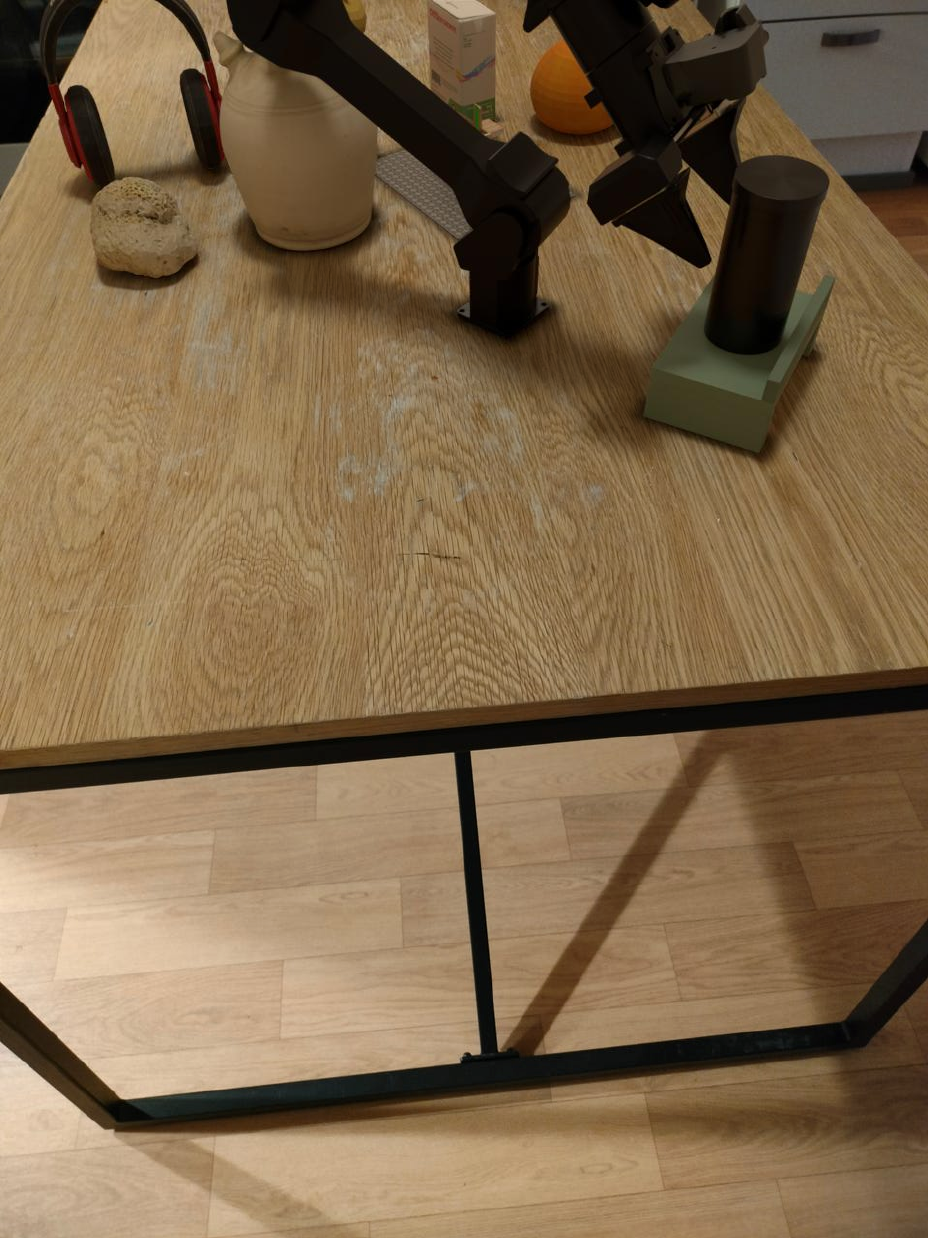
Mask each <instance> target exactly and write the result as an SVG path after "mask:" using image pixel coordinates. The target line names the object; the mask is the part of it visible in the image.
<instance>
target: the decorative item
mask: <svg viewBox="0 0 928 1238" xmlns="http://www.w3.org/2000/svg"><path fill="white" fill-rule="evenodd" d="M91 202H92V203H91V205H90V212H91V214H90V221H89V232H90V235H91V244H92V246H93V251H94V256H95V258H96V260H97V261H98V263H99V264H100V265H101V266H103V267H104V268H105V269H108V270H110V271H116V272H124V271H125V272H128V273H130V274H134V275H136V276H143V277H151V278H154V279H158V278H160V277H162V276H164V277H165V276H166V277H167V276H170V275H173V274H175V273H177V272H179V271H180V270H181V269H182V268H183V266H184V265H185V264H186V263H187V262H188V261H190V260H191V259H194V257H195V256H196V255H197V254H198V240H197V238H196V236H195V234H194V231H192V229H191V227H190V224H189V222H188V220H187V219H186V217H185V216H184V214H183V212H181V211H180V209H179V205H178V201H177V200H176V199H175V197H174V196H173V195H172V193H170V192H169V191H166V190H165V189H164V188H163V187H161V186H160V185H159V184H157V183H155V182H154V181H152V180H150V179H147V178H142V177H139V176H138V177H137V176H128V177H127V176H126V177H123V178H122V179H121V180H120V179H115V180H114V181H113V182H111V183H110V184H109V185H107V186H104V187H103V188H102V189H101V190H99V191H98V192H97V193H96V194H95V195H94V197H93V199H92V200H91Z"/></svg>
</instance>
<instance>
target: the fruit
mask: <svg viewBox="0 0 928 1238" xmlns="http://www.w3.org/2000/svg"><path fill="white" fill-rule="evenodd" d="M585 75H586V74H584V73H583V71H582V69H581V68H580V66H579V64H578V63H577V61H576V59H575V58H574V56H573V54H572V52H571V51H570V49H569V47H568V46H567V44H566V42H565V41H564V39H563V38H562V39H561V40H558V41H557V42H556V43H554V44H553V45H551V47H550V48H548V49H547V50H546V51H545V52H544V53H543V55H542V56H541V57H540V59H539V60H538V62H537V64H536V65H535V68H534V71H533V72H532V76H531V78H530V79H531V80H530V86H529V93H530V101H531V105H532V108H533V111H534V113H535V115H536V116H537V118H538V119H539V120H540V122H542V123H543V124H544V125H545V126H547V127H548V128H550V129H552V130H554V131H556V132H560V133H564V134H568V135H578V136H579V135H590V134H594V133H598V132H601V131H604V130H605V129H608V128H610V127H611V126H612V125H614V124H613V122H612V120H611V119H610V117H609V115H608V114H607V112H606V110H605V109H604V107H603V105H602V103H601V102H600V103H599V104H598V105H596V106H595V107H594V108H592V109H590V107H589V105H588V104H587V102H586V100H585V99H584V96H585V95H586V94H587V93H588V92H589V91H590V90H591V89H592V87H591V85H590V83H589V81H588V80H587V78H586V76H585Z"/></svg>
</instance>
